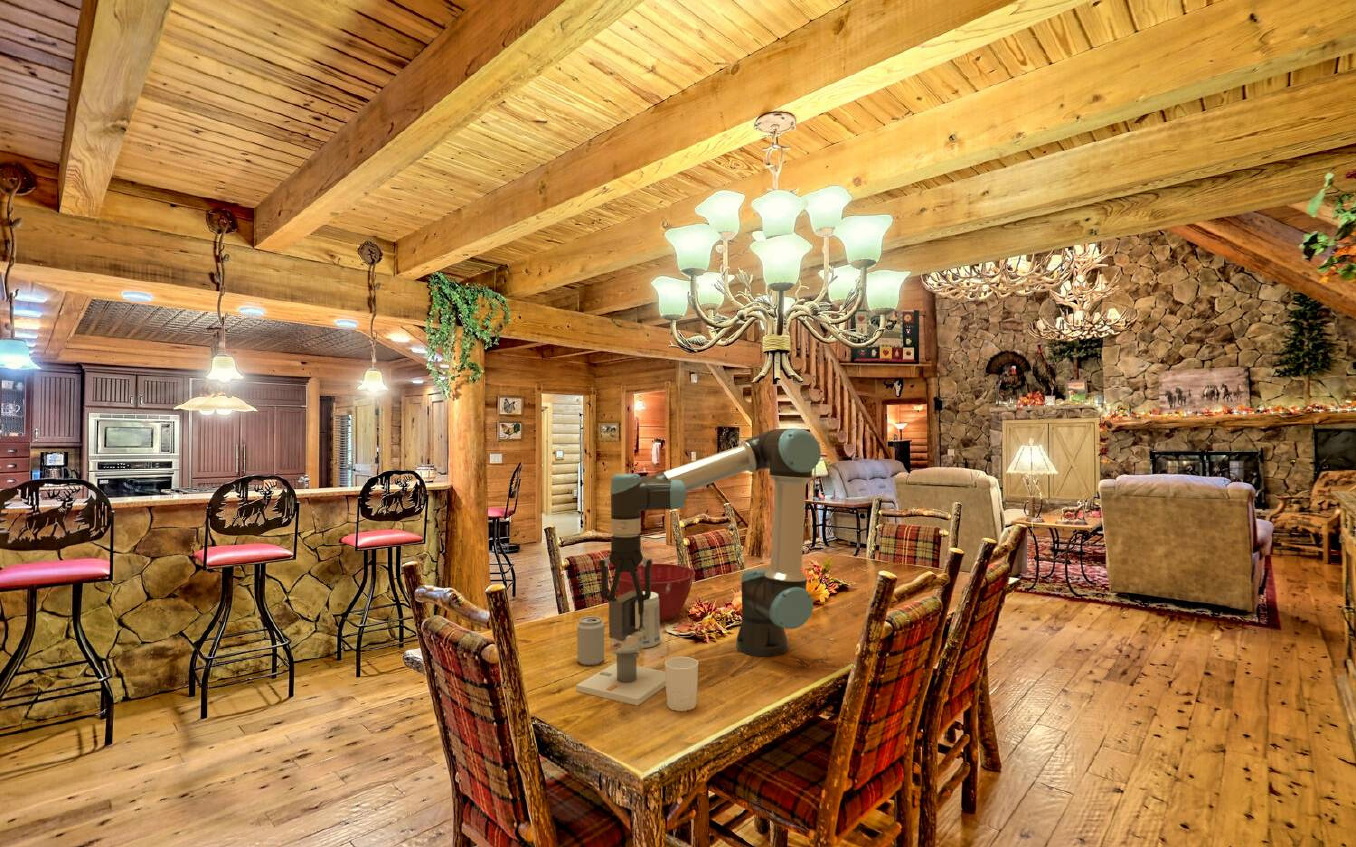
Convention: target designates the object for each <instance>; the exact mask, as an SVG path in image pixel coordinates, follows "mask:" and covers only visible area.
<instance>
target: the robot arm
mask: <svg viewBox="0 0 1356 847" xmlns="http://www.w3.org/2000/svg"><path fill="white" fill-rule="evenodd" d="M821 453H822V450H821V445H820V442H819V441H818V439H817V438H816V437H815V435H813V434H812V432H809V431H808V430H806V429H801V428H775V429H770V430H767V431H765V432H762V433H760V434H758V435H755V436H752V437H750V438H748V439H744V440H742V441H740V442H739V444H738V446H734V447H732V448H729V449H726V450H724V451H720V452H718V453H715V454H711V455H709V456H705V457H703V458H700V459H698V460H694V461H692V462H688V463H685V464H683V465H680V466H677V467H674V468H671V469H670V468H669V469H668V470H665V471H662V472H660V473H656V474H653V475H651V476H646V475H644V476H641V475H639V474H640V473H639V474H638V473H616V474H614V475H613V476H612V477H611V479H610V480H611V481H610V492H609V493H610V533H611V534H612V536H611V537H610V554H609V556H608V557H606V558H601V559H600V561H599V567H600V569H601V599H602V600H606V601H608V602H609V601H610V600H613V599H615V598H616V594H617V591H618V588H617V587H618V583H619V579H620V575H621V572H625V571H626V572H630V573H631V576H632V579H633V583H634V587H635V591H636V595H637V598H638V600H636V602H635V629H638V628H639V626H640V614H643V612H644V601H645V600H648V599H649V598H650V596H651V571H650V568H651V565H652V564H653V559H652V558H647V557H644V556H643V554H642V550H641V549H642V545H641V542H642V541H641V539H642V537H641V536H640V534H641V530H642V528H641V526H642V525H641V524H642V523H641V520H642V518H641V516H642V515H641V512H642V511H656V510H657V511H658V510H660V511H661V510H671V511H673V510H679V509H682V508H684V507H685V505H686V503H687V493H688V492H689V491H692V490H695V489H699V488H701V487H705V486H707V485H710V484H712V483H717V482H718V481H721V480H723V479H727V478H730V477H734V476H735V475H738V474H741V473H743V472H747V471H748V472H750V473H754V472H757V471H761V470H769V477H770V478H771V479H772V481H773V483H774V487H773V488H774V489H773V490H774V491H773V505H772V506H773V508H772V529H771V547H770V562H769V563H770V565H769V566H770V567H769V568H753V569H746V570H744V571H743V572H742V573H741V583H740V584H741V617H742V618H741V623H740V625H739V626H740V627H739V630H738V633H737V636H736V641H735V642H736V649H737V650H738V651H740V653H744V654H746V655H750V656H756V657H757V656H758V657H772V656H779V655H781V654H784V653H786V652H787V651H788V650H789V641H788V638H787V635H786V634H787V633H786V631H785V630H794V629H798V628H800V627H802V626H804V624H805V623H806V622H808V620H809V619H810V618H811V615H812V614H813V609H814V602H813V601H814V600H813V597H812V595H811V594H810V592H809V591H808V590H807V585H808V584H807V581H808V580H807V579H808V578H807V576H806V574H804V572H803V570H802V567H803V550H804V549H803V548H804V526H805V511H806V510H805V508H806V507H805V506H806V493H807V492H806V491H807V488H806V487H807V486H806V485H807V484H808V483H809V482H810V481H811V480H812V479H813V470H814V469H816V466H817V465H818V464H819V462H820V461H821ZM610 563H611V564H612V566H613V567H614V568H615V571H614V572H615V574H614V576H613V580H612V585H611V589H610V592H609V566H610ZM641 563H642V564H643V566H644V567H645V594H644V595H643V592H642V588H641V584H640V580H639V576H638V571H637V567H638V565H641Z"/></svg>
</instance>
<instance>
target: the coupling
mask: <svg viewBox="0 0 1356 847" xmlns="http://www.w3.org/2000/svg"><path fill="white" fill-rule="evenodd" d="M636 600H638V598H637V595H636V591H629V592H627V593H625V594H623V595H621V596H620V595H619V596H617V597H615V599H613V600H610V601H608V623H609V626H608V628H609V629H608V632H609V633H608V634H609V636H608V637H609V639H610V650H611V651H612V652H613V653H614V652H616V653H622V654H628V653H635V652H637V653H639V652H640V651H641V650H643V648H642V630H640V628H642V627H643V614H640V626H639V628H638V629H635V602H636Z"/></svg>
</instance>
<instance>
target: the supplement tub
mask: <svg viewBox="0 0 1356 847" xmlns="http://www.w3.org/2000/svg"><path fill="white" fill-rule="evenodd" d="M642 592H643V595H644V594H645V591H642ZM660 622H661V621H660V618H659V595H658V594H657V593H655V592H651V596H650V598H649V599H648V600H645V601H644V612H643V627H642V628H640V630H642V649H647V648H648V649H649V648H653V647H655V646H657V645H658V644H659V643H660V641H661V636H660V635H661V632H660V631H661V630H660V627H661V626H660Z"/></svg>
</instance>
